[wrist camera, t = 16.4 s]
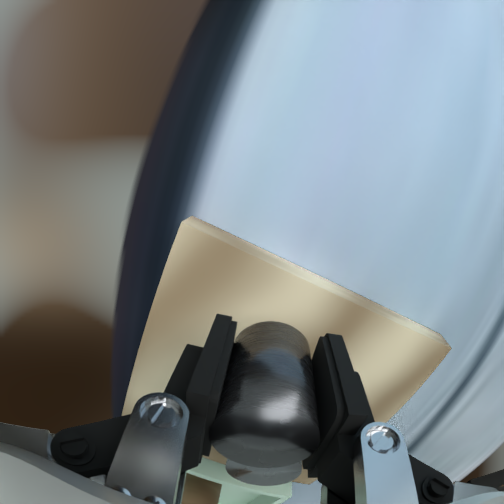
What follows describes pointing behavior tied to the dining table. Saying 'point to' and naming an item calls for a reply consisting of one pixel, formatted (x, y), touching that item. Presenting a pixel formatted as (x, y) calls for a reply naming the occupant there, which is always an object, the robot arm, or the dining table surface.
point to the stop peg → (200, 491)
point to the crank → (267, 406)
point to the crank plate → (275, 318)
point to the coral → (490, 480)
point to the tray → (240, 486)
